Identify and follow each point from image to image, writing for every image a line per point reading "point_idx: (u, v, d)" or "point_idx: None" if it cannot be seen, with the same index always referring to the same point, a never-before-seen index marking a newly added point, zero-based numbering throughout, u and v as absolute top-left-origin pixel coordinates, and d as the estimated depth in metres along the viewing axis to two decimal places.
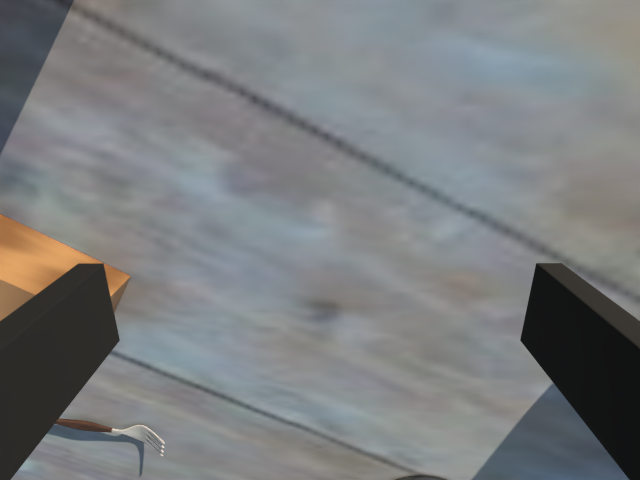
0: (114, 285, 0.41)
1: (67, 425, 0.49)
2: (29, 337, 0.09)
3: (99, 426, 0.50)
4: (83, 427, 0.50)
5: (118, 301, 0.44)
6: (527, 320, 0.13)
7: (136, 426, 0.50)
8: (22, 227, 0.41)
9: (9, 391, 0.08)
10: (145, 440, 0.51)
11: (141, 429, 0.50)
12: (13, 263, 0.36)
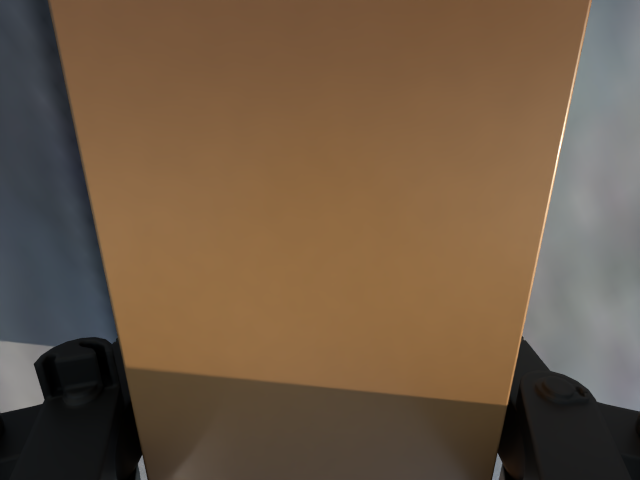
0: None
1: None
2: None
3: None
4: None
5: None
6: None
7: None
8: None
9: None
10: None
11: None
12: None
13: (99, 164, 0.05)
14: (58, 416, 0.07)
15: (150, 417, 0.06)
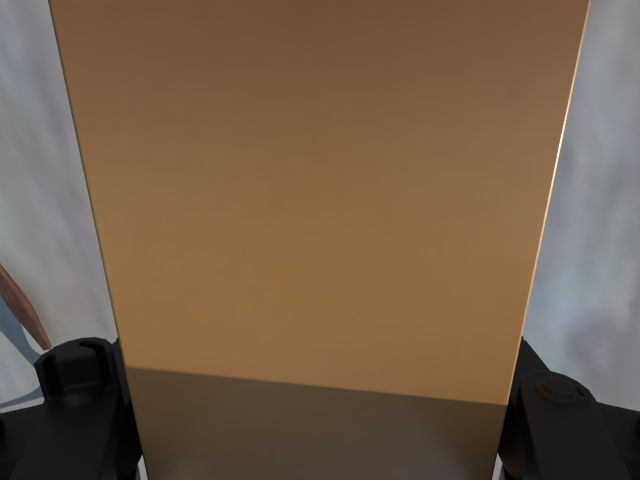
0: None
1: None
2: None
3: (40, 329, 0.26)
4: (17, 308, 0.25)
5: None
6: None
7: None
8: None
9: None
10: None
11: None
12: None
13: (99, 163, 0.05)
14: (58, 416, 0.07)
15: (150, 416, 0.06)
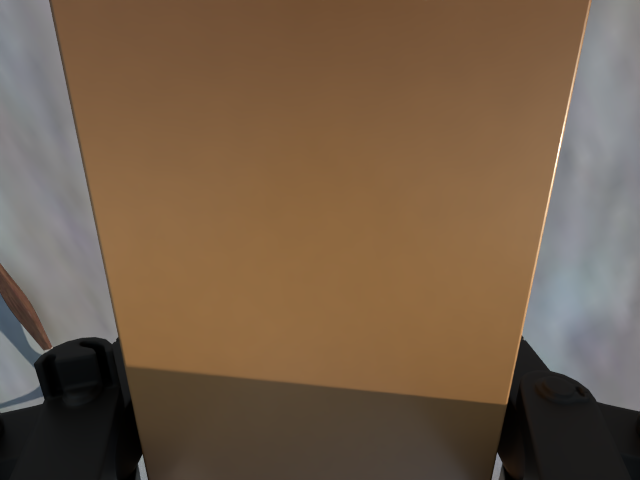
0: None
1: None
2: None
3: (40, 329, 0.26)
4: (17, 308, 0.25)
5: None
6: None
7: None
8: None
9: None
10: None
11: None
12: None
13: (99, 162, 0.05)
14: (58, 416, 0.07)
15: (150, 415, 0.06)
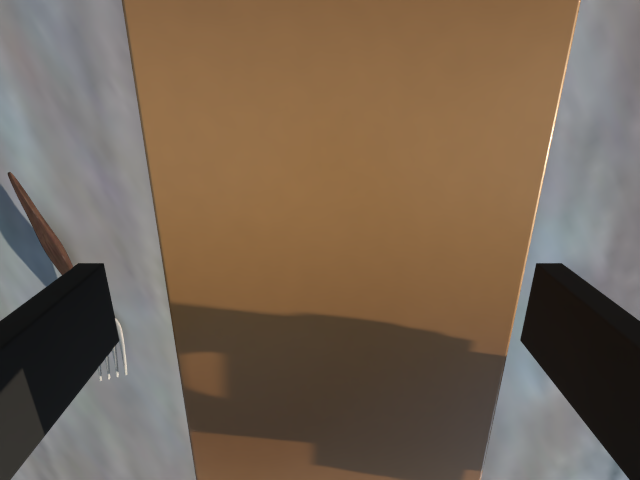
0: None
1: (36, 228, 0.27)
2: (29, 337, 0.09)
3: None
4: (53, 252, 0.28)
5: None
6: (527, 320, 0.13)
7: None
8: None
9: (9, 391, 0.08)
10: None
11: None
12: None
13: (140, 11, 0.05)
14: None
15: (181, 285, 0.07)
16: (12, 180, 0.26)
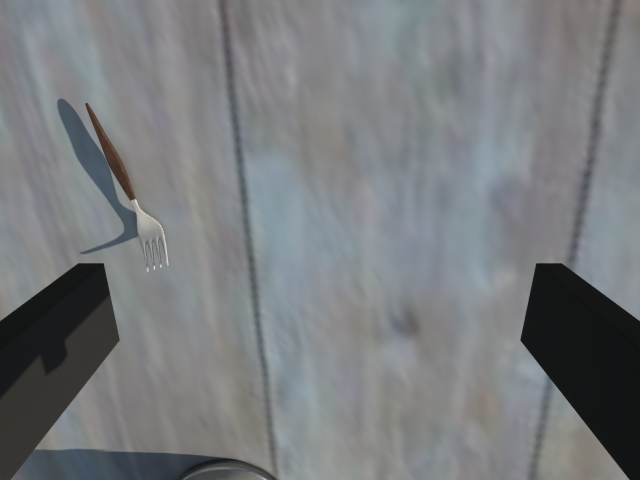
0: None
1: (104, 147, 0.37)
2: (29, 337, 0.09)
3: (129, 183, 0.38)
4: (115, 166, 0.37)
5: None
6: (527, 320, 0.13)
7: (156, 222, 0.40)
8: None
9: (9, 391, 0.08)
10: (144, 240, 0.40)
11: (157, 229, 0.40)
12: None
13: None
14: None
15: None
16: (89, 108, 0.36)
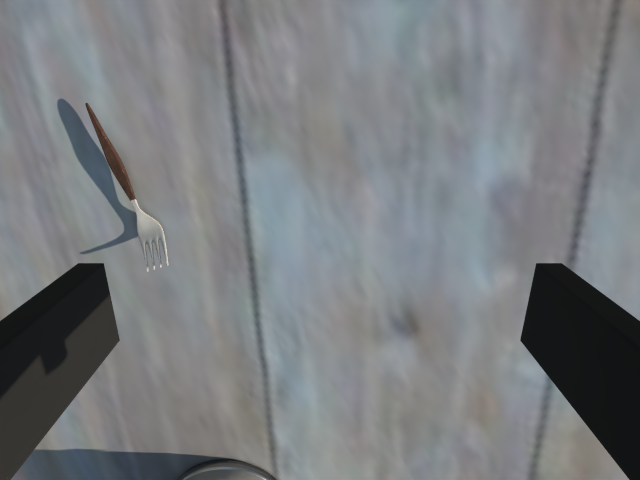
0: None
1: (104, 147, 0.37)
2: (29, 337, 0.09)
3: (129, 183, 0.38)
4: (115, 166, 0.37)
5: None
6: (527, 320, 0.13)
7: (156, 222, 0.40)
8: None
9: (9, 391, 0.08)
10: (144, 240, 0.40)
11: (156, 229, 0.40)
12: None
13: None
14: None
15: None
16: (89, 108, 0.36)
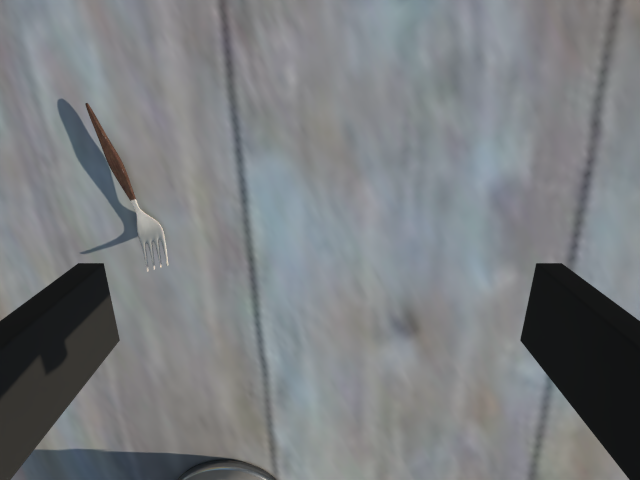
0: None
1: (104, 147, 0.37)
2: (29, 337, 0.09)
3: (129, 183, 0.38)
4: (115, 166, 0.37)
5: None
6: (527, 320, 0.13)
7: (156, 222, 0.40)
8: None
9: (9, 391, 0.08)
10: (144, 240, 0.40)
11: (156, 229, 0.40)
12: None
13: None
14: None
15: None
16: (89, 108, 0.36)
